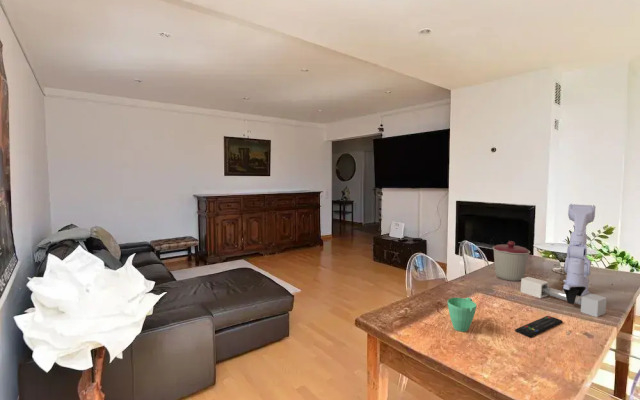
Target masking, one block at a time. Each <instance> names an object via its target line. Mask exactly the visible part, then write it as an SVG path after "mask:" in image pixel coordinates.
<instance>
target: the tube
mask: <svg viewBox="0 0 640 400" xmlns="http://www.w3.org/2000/svg"><path fill="white" fill-rule="evenodd" d="M542 293H543V294H546V295H547V296H550V297H553V298H557V299H560V300H563V301H566V302H567V298H566V294H565V292H564V291H563V290H559V289H556V288H554V287H553V288H552V287H549V286H548V287H546V286H542ZM581 301H582V296H578V295H576V298H575V302H574V304H576V305H580V306H581Z"/></svg>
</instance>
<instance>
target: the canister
mask: <svg viewBox="0 0 640 400" xmlns="http://www.w3.org/2000/svg"><path fill="white" fill-rule="evenodd" d="M492 250H493V259H494V261H493V262H494V263H493V264H494V271H495V275H496V276H497V277H498V278H500V279H502V280H505V281H510V282H519V281H520V282H521V279H522V278H525V273H526V269H527V265H528V259H529V254H531V251H530V250H529V249H527V248H526V247H525V246H524V247H523V246H520V245H516V243H515V241H512V240H508V242H507V244H496V245H493V246H492Z"/></svg>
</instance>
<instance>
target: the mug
mask: <svg viewBox="0 0 640 400" xmlns="http://www.w3.org/2000/svg"><path fill="white" fill-rule="evenodd" d="M447 308H448V309H447V310H448V313H449V317H450V321H451V323H452V324H451V325H452V326H453V329H454V330H455V331H458V332H461V333H466V332H468V331H469V329H470V327H471V324H472V322H473V320H474V317H475V314H476V309H477V303H476V302H474V301H473V298H471V297H465V298H464V297H463V298H462V297H451V298H448V299H447Z"/></svg>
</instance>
